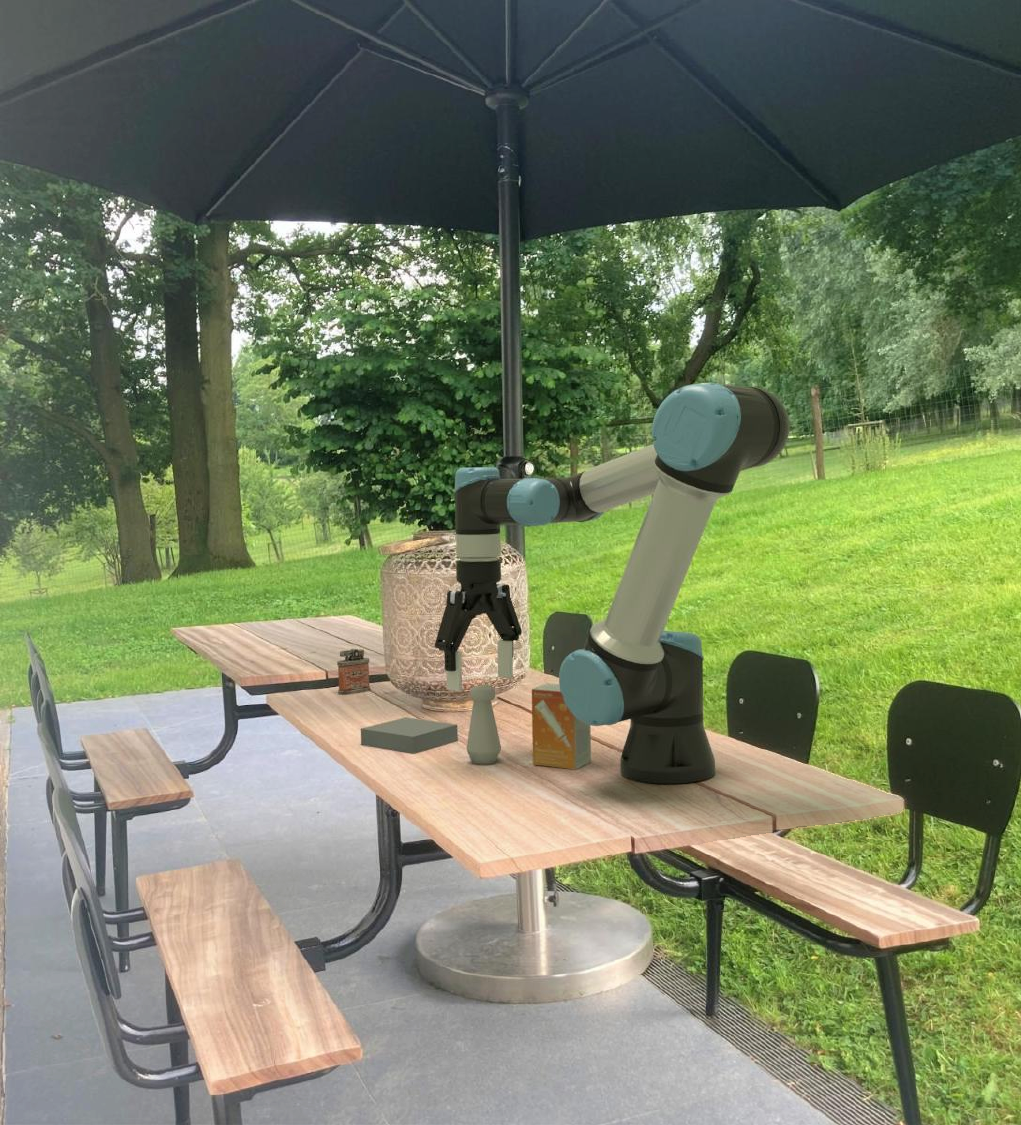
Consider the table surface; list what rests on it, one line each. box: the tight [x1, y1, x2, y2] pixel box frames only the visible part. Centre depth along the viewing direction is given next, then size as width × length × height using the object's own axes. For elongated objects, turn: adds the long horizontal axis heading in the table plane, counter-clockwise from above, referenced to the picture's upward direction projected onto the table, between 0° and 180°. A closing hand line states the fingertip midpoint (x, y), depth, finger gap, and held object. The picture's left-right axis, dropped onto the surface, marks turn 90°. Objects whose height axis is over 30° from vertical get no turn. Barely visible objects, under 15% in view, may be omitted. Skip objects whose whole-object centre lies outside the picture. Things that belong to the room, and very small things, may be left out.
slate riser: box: [360, 717, 459, 754], centre depth 217 cm, size 13×12×3 cm
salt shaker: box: [466, 684, 502, 765], centre depth 201 cm, size 6×6×13 cm
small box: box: [531, 682, 592, 771], centre depth 198 cm, size 8×6×13 cm
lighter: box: [336, 647, 371, 696], centre depth 271 cm, size 8×3×10 cm, turn 130°
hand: (480, 684), depth 200 cm, fingers open, 13 cm apart
